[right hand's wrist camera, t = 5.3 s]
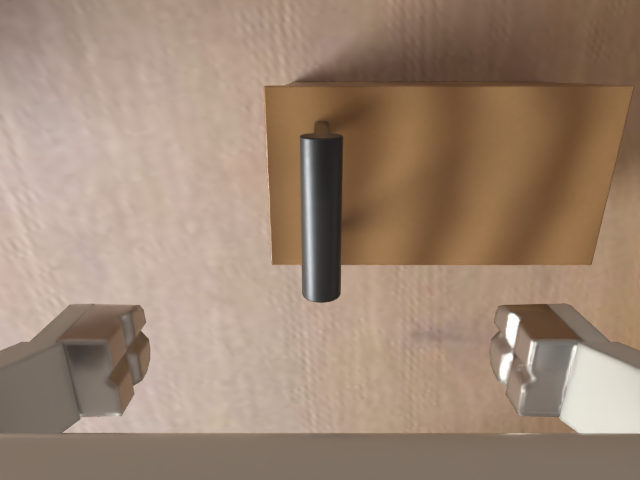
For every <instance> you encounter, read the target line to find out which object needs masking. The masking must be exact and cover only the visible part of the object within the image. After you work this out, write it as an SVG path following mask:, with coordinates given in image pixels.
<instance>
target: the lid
mask: <svg viewBox="0 0 640 480" xmlns="http://www.w3.org/2000/svg"><path fill="white" fill-rule="evenodd" d="M633 89H634V86H622V85H393V86H264V105H265V128H266V151H267V174H268V197H269V220H270V243H271V264H272V265H302V294H303V296H304V297H305V298H306V299H307V300H310V301H313V302H321V303H322V302H330V301H333V300H335V299H337V298H338V297H339V296H340V293H341V265H591V264H592V260H593V256H594V252H595V248H596V244H597V239H598V235H599V231H600V227H601V223H602V219H603V214H604V210H605V206H606V202H607V198H608V193H609V189H610V185H611V181H612V177H613V173H614V168H615V164H616V160H617V156H618V152H619V147H620V143H621V139H622V135H623V131H624V127H625V122H626V118H627V114H628V110H629V106H630V102H631V97H632V93H633Z"/></svg>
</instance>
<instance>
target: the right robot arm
mask: <svg viewBox="0 0 640 480" xmlns="http://www.w3.org/2000/svg"><path fill="white" fill-rule="evenodd" d="M145 323H146V319H145V314H144V310H143V308H142V307H141V306H140V305H114V304H73V305H69V306H68V307H67V308H66V309H65V310H64V311H63V312H62V313H60V314H59V315H58V316H57V317H56V318H55V319H54V320H53V321H52V322H51V323H50V324H48V325H47V326H46V327H45V328H44V329H43V330H42V331H41V332H40V333H39V334H37V335H36V336H35V337H34V338H33V339H32V340H31V341H30V342H21V343H18V344H16V345H13V346H11V347H8V348H6V349H4V350H1V351H0V480H640V351H639V350H636V349H634V348H631V347H629V346H627V345H624V344H622V343H619V342H610V341H609V340H608V339H607V338H606V337H605V336H604V335H603V334H601V333H600V332H599V331H598V330H597V329H596V328H595V327H594V326H593V325H592V324H591V323H589V322H588V321H587V320H586V319H585V318H584V317H583V316H582V315H581V314H580V313H579V312H577V311H576V310H575V309H574V308H573V307H572V306H571V305H568V304H530V305H502V306H498V308H497V311H496V313H495V319H494V323H495V325H496V326H497V328H498V329H499V332H498V333H497V334H496V335H495V336H494V337H493V338H492V339H491V345H490V362H491V366H492V370H493V373H494V374H495V376H496V378H497V380H498V381H500V382H501V383H503V384H505V385H506V386H507V389H506V395H507V397H508V399H509V401H510V402H511V404H512V406H513V407H514V409H515V411H516V412H517V414H518V416H542V417H560V418H559V419H560V420H562V421H563V422H564V423H566V424H567V425H568V426H570V427H571V428H572V429H574V430H575V431H576V432H578V433H62V432H64V431H65V430H66V429H68V428H69V427H70V426H72V425H73V424H74V423H76V422H77V421H78V420H80V417H98V416H122V414H123V413H124V411H125V409H126V407H127V406H128V404H129V402H130V401H131V399H132V397H133V395H134V389H133V386H134V385H135V384H137V383H139V382H140V381H142V380H143V378H144V376H145V374H146V372H147V370H148V366H149V361H150V344H149V339H148V338H147V337H146V336H145V335H144V334H143V333H142V332H141V329H142V328H143V326H144V325H145Z"/></svg>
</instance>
